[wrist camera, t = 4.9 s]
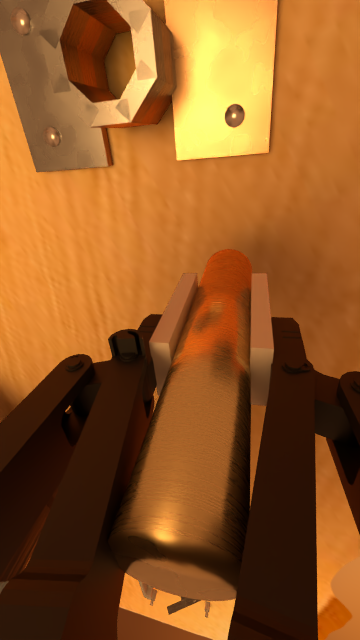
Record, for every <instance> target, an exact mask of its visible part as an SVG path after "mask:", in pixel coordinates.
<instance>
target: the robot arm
mask: <svg viewBox="0 0 360 640" xmlns="http://www.w3.org/2000/svg"><path fill="white" fill-rule="evenodd" d="M197 290H198V281H197V273H183V275H182V277H181V279H180V281H179V283H178V285H177V287H176V289H175V291H174V293H173V295H172V297H171V299H170V301H169V303H168V305H167V307H166V309H165V311H164V313H163V315H158V314H151V315H149V316H148V317H146V318H145V319H144V320H143V322H142V323H141V325H140V327H139V328H138V330H135V329H125V330H121V331H118V332H116V333H114V334H112V335H111V336H110V337H109V339H108V341H109V345H110V349H111V353H112V359H111V360H109V361H104V362H97V363H93V362H92V359H91V358H90V357H89V356H88V355H85V354H77V355H73V356H70V357H68V358H66V359H64V360H63V361H62V362H60V363H59V364H58V365H57V366H56V367H55V368H54V369H53V370H52V371H51V372H50V373H49V374H48V376H47V377H46V378H45V379H44V380H43V381H42V382H41V383H40V384H39V385H38V386H37V387H36V388H35V389H34V390H33V391H32V392H31V393H30V394H29V395H28V396H27V397H26V398H25V399H24V400H23V401H22V402H21V403H20V404H19V405H18V406H17V407H16V408H15V409H14V410H13V411H12V412H11V413H10V414H9V415H8V416H7V417H6V418H5V419H4V420H3V421H2V422H1V423H0V640H117V616H118V609H119V603H120V598H121V592H122V586H123V580H124V575H125V572H124V571H123V570H121V569H120V568H119V566H118V563H117V561H116V559H115V557H114V555H113V552H112V550H111V548H110V546H109V543H108V539H109V536H110V533H111V530H112V527H113V524H114V521H115V518H116V516H117V513H118V510H119V507H120V504H121V502H122V499H123V496H124V493H125V491H126V488H127V485H128V482H129V479H130V477H131V474H132V471H133V468H134V466H135V463H136V460H137V457H138V454H139V452H140V449H141V446H142V443H143V440H144V438H145V435H146V432H147V429H148V427H149V424H150V421H151V418H152V415H153V409H154V396H153V393H154V391H155V388H156V387H157V393H158V396H160V393H161V390H162V388H163V385H164V382H165V379H166V376H167V374H168V371H169V368H170V365H171V363H172V360H173V357H174V354H175V351H176V349H177V346H178V343H179V340H180V337H181V335H182V332H183V329H184V326H185V324H186V321H187V318H188V315H189V312H190V310H191V307H192V304H193V301H194V298H195V296H196V293H197ZM250 372H251V404H253V405H264V406H266V412H265V418H264V425H263V431H262V437H261V444H260V450H259V456H258V462H257V469H256V475H255V481H254V487H253V494H252V500H251V506H250V513H249V519H248V525H247V531H246V538H245V544H244V550H243V556H242V563H241V569H240V575H239V582H238V588H237V594H236V600H235V606H234V611H233V615H232V619H231V624H230V629H229V634H228V640H318V620H317V548H316V476H315V433H316V434H318V435H321V436H324V437H326V440H327V443H328V446H329V449H330V451H331V454H332V457H333V460H334V463H335V466H336V469H337V471H338V474H339V477H340V480H341V483H342V486H343V489H344V491H345V494H346V497H347V500H348V503H349V506H350V509H351V511H352V514H353V517H354V520H355V523H356V526H357V529H358V531H359V534H360V372H356V371H354V372H347V373H345V374H343V375H342V376H341V378H340V379H337V378H333V377H330V376H327V375H324V374H321V373H319V372H317V371H316V370H314V368H313V365H312V364H311V363H310V362H309V361H308V360H307V358H306V354H305V349H304V345H303V341H302V337H301V333H300V328H299V324H298V323H297V322H296V321H295V320H294V319H293V318H277V317H271V313H270V302H269V291H268V281H267V273H252V281H251V329H250ZM69 406H71V407H70V408H69V410H68V411H67V412H65V411H66V409H67V408H68V407H69ZM28 561H29V562H28ZM27 563H28V564H27ZM26 565H27V566H26ZM25 567H26V568H25Z"/></svg>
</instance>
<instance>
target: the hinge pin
mask: <svg viewBox="0 0 360 640" xmlns="http://www.w3.org/2000/svg"><path fill="white" fill-rule="evenodd" d="M251 281H252V266H251V263H250V261H249V259H248V258H247V257H246V256H245V255H244V254H243V253H241V252H239V251H237V250H232V249H225V250H221V251H219V252H217V253H215V254H214V255H213V256H212V257H211V258H210V259H209V261H208V263H207V265H206V268H205V271H204V273H203V276H202V279H201V282H200V285H199V287H198V290H197V293H196V296H195V298H194V301H193V304H192V307H191V310H190V312H189V315H188V318H187V321H186V324H185V326H184V329H183V332H182V335H181V337H180V340H179V343H178V346H177V349H176V351H175V354H174V357H173V360H172V363H171V365H170V368H169V371H168V374H167V376H166V379H165V382H164V385H163V388H162V390H161V393H160V396H159V399H158V401H157V404H156V407H155V410H154V413H153V415H152V418H151V421H150V424H149V427H148V429H147V432H146V435H145V438H144V440H143V443H142V446H141V449H140V452H139V454H138V457H137V460H136V463H135V466H134V468H133V471H132V474H131V477H130V479H129V482H128V485H127V488H126V491H125V493H124V496H123V499H122V502H121V504H120V507H119V510H118V513H117V516H116V518H115V521H114V524H113V527H112V530H111V533H110V536H109V539H108V543H109V546H110V548H111V550H112V552H113V555H114V557H115V559H116V561H117V563H118V566H119V568H120V569H121V570H123V571H124V572H125V573H127V574H128V575H130V576H132V577H133V578H135V579H137V580H139V581H141V582H143V583H145V584H147V585H149V586H151V587H154V588H156V589H159V590H161V591H164V592H167V593H171V594H174V595H178V596H182V597H186V598H191V599H197V600H205V601H225V600H232V599H235V598H236V594H237V588H238V582H239V575H240V569H241V563H242V556H243V550H244V544H245V538H246V531H247V525H248V519H249V513H250V434H251V372H250V329H251Z"/></svg>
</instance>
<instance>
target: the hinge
mask: <svg viewBox="0 0 360 640" xmlns="http://www.w3.org/2000/svg"><path fill="white" fill-rule="evenodd" d="M277 3H278V0H164V5H165V17H166V25H165V24H164V23H163V21H162V20H161V19H160V18H159V17H158V16H157V15H156V13H155V12H154V11H153V10H152V9H151V8H150V7H148V5H147V4H146V3H145V2H144V1H143V0H0V54H1V57H2V60H3V63H4V67H5V70H6V73H7V76H8V80H9V83H10V86H11V90H12V93H13V96H14V99H15V103H16V106H17V109H18V113H19V116H20V119H21V122H22V126H23V129H24V132H25V136H26V139H27V142H28V145H29V149H30V152H31V155H32V159H33V162H34V165H35V168H36V172H46V171H58V170H70V169H82V168H93V167H105V166H111V165H113V163H112V157H111V152H110V146H109V141H108V135H107V130H106V128H126V127H135V126H144V125H152V124H158V122H159V121H160V119H161V118H162V116H163V114H164V113H165V111H166V110H167V108H168V107H169V105H170V103H171V102H172V103H173V116H174V128H175V140H176V153H177V160H188V159H199V158H211V157H223V156H235V155H246V154H258V153H269V136H270V120H271V103H272V86H273V70H274V53H275V36H276V19H277ZM127 31H131V33H132V41H133V49H134V57H135V65H136V70H135V72H134V74H133V75H132V77H131V79H130V81H129V83H128V85H127V87H126V88H125V90H124V92H123V94H122V96H121V98H120V99H119V100H118V99H117V98H116V97H115V96H114V95H113V94H112V93H111V92H110V91H109V88H108V82H107V76H106V70H105V64H104V59H105V57H106V55H107V52H108V50H109V48H110V46H111V44H112V42H113V40H114V38H115V35H116V34H117V33H122V32H127Z"/></svg>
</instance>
